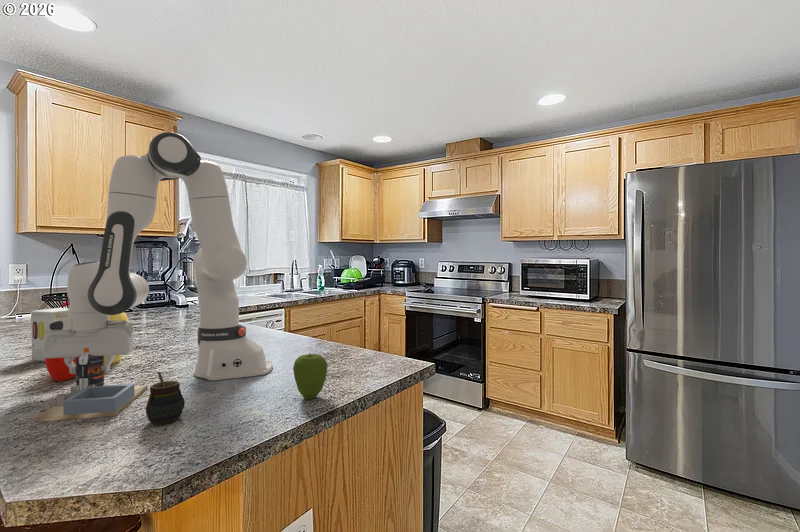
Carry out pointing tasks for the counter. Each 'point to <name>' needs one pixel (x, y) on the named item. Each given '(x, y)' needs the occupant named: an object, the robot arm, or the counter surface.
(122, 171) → the robot arm
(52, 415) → the board
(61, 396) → the clips
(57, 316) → the supplement box
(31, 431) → the counter surface
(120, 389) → the end holder
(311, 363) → the apple
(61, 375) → the apple
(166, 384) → the mate gourd
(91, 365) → the pill bottle
